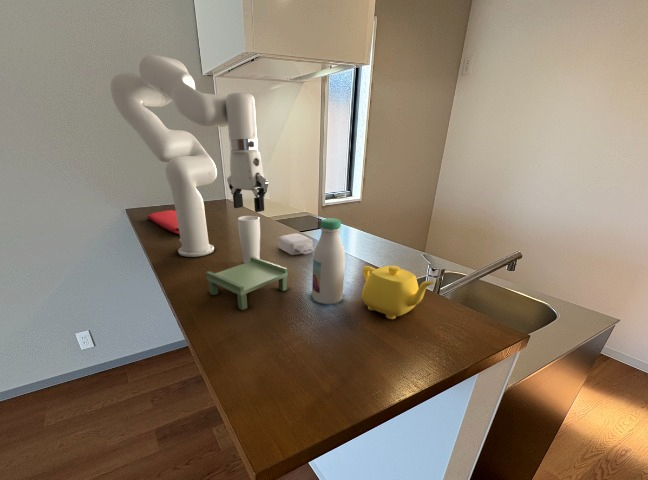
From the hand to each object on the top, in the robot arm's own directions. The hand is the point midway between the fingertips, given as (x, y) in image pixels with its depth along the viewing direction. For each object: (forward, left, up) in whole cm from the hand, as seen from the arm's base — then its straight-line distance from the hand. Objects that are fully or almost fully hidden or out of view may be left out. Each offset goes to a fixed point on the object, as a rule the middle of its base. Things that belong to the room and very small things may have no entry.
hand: (248, 209), depth 96 cm
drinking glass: (0, 0, -18) cm, 18 cm away
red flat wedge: (-68, +10, -18) cm, 71 cm away
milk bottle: (+33, -3, -18) cm, 37 cm away
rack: (+15, -14, -18) cm, 27 cm away
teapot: (+48, +2, -18) cm, 51 cm away
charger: (+4, +19, -18) cm, 26 cm away
